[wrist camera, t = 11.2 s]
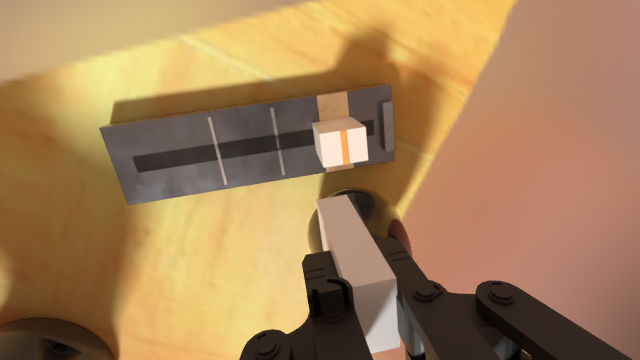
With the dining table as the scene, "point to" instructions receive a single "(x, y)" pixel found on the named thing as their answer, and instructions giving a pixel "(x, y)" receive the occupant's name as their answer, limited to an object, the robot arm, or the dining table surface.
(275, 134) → the console
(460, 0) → the dining table surface
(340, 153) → the fader knob
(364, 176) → the dining table surface
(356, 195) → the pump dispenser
